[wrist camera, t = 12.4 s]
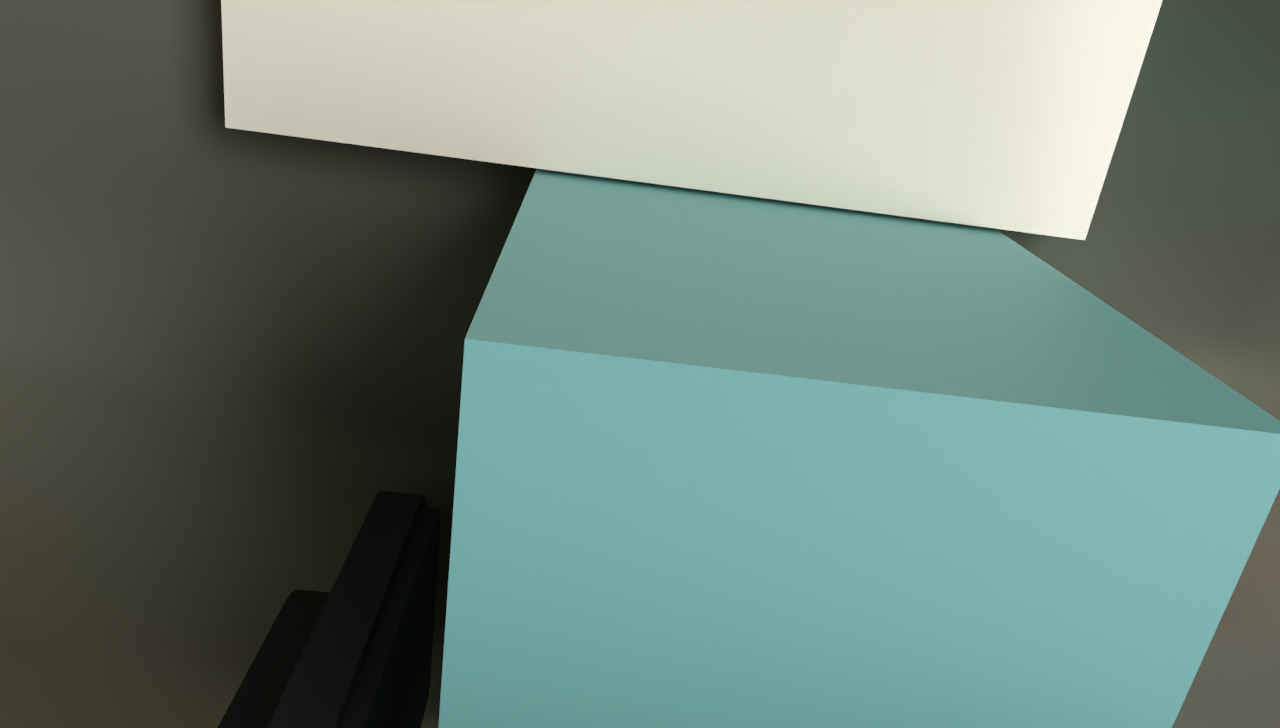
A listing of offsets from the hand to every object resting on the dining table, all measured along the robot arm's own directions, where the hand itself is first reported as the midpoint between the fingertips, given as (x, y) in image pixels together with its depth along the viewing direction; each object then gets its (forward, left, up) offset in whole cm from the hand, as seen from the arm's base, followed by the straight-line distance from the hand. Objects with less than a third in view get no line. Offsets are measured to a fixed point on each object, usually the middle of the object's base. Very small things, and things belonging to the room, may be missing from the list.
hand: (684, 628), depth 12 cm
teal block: (0, +1, -1) cm, 2 cm away
